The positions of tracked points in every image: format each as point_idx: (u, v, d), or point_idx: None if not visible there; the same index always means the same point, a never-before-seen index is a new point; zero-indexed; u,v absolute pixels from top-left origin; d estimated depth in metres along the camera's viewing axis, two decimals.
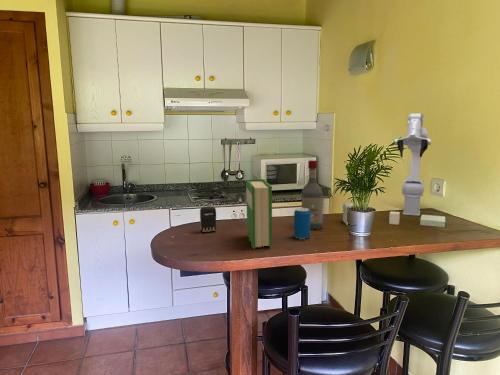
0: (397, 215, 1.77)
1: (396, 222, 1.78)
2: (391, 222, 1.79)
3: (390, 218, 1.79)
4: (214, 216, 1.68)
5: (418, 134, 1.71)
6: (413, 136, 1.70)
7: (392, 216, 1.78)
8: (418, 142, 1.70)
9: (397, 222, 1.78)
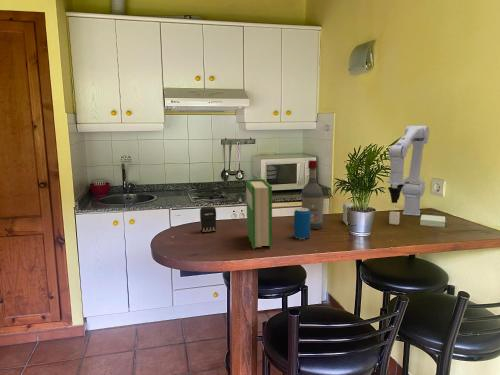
0: (397, 215, 1.77)
1: (396, 222, 1.78)
2: (391, 222, 1.79)
3: (390, 218, 1.79)
4: (214, 216, 1.68)
5: (391, 177, 1.76)
6: None
7: (392, 216, 1.78)
8: None
9: (397, 222, 1.78)
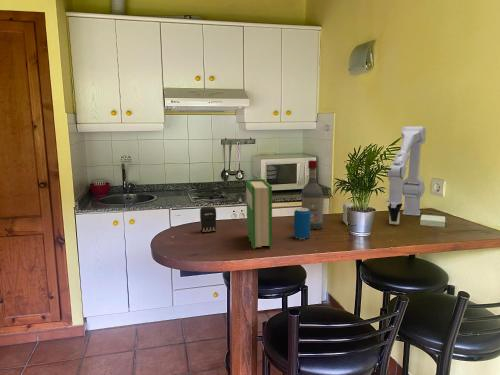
0: None
1: (396, 222, 1.78)
2: (391, 222, 1.79)
3: (390, 218, 1.79)
4: (214, 216, 1.68)
5: (390, 197, 1.77)
6: None
7: None
8: None
9: (397, 222, 1.78)
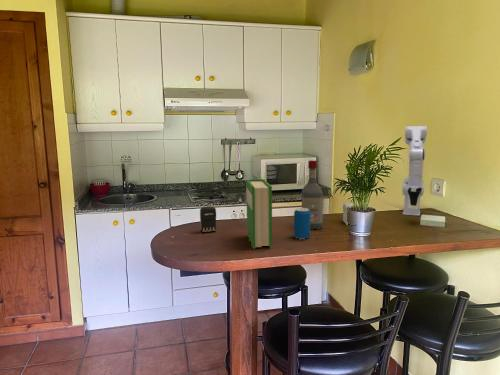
0: None
1: (415, 206, 1.76)
2: (410, 206, 1.77)
3: (409, 202, 1.77)
4: (214, 216, 1.68)
5: (410, 180, 1.75)
6: None
7: None
8: None
9: (416, 206, 1.76)
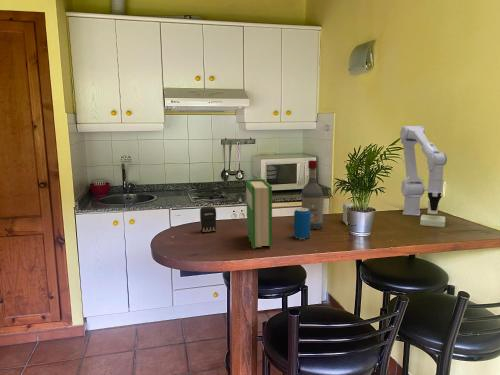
0: None
1: (435, 211, 1.76)
2: (430, 211, 1.77)
3: (429, 207, 1.77)
4: (214, 216, 1.68)
5: (430, 185, 1.75)
6: None
7: None
8: None
9: (436, 211, 1.76)
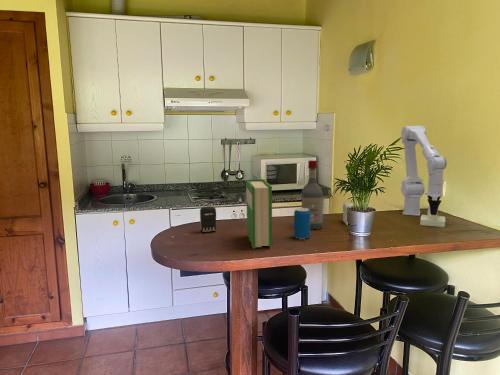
0: None
1: (435, 217, 1.76)
2: (429, 217, 1.77)
3: (428, 213, 1.77)
4: (214, 216, 1.68)
5: (430, 189, 1.75)
6: None
7: None
8: None
9: (436, 217, 1.76)
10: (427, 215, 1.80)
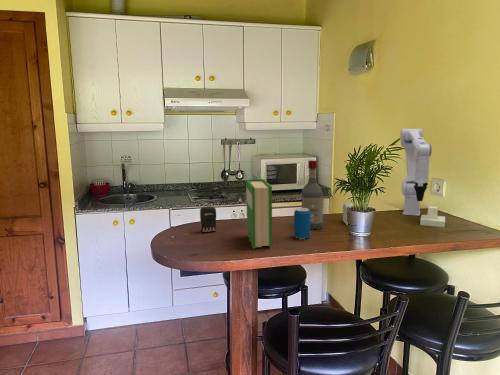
0: (436, 210, 1.76)
1: (435, 217, 1.76)
2: (429, 217, 1.77)
3: (428, 213, 1.77)
4: (214, 216, 1.68)
5: (417, 176, 1.78)
6: (413, 181, 1.81)
7: (430, 210, 1.77)
8: None
9: (436, 217, 1.76)
10: (427, 215, 1.80)
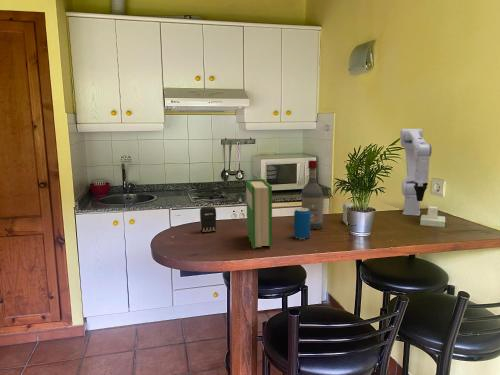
0: (436, 210, 1.76)
1: (435, 217, 1.76)
2: (429, 217, 1.77)
3: (428, 213, 1.77)
4: (214, 216, 1.68)
5: (417, 176, 1.78)
6: (413, 181, 1.81)
7: (430, 210, 1.77)
8: None
9: (436, 217, 1.76)
10: (427, 215, 1.80)
